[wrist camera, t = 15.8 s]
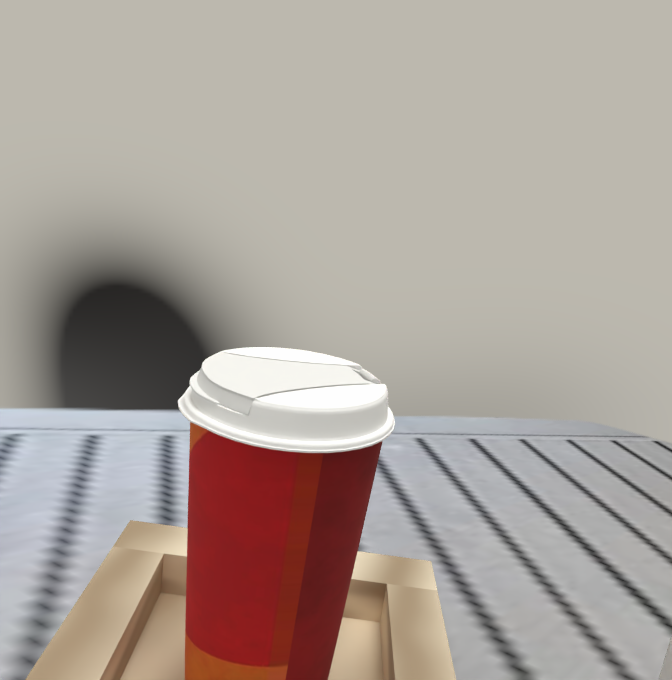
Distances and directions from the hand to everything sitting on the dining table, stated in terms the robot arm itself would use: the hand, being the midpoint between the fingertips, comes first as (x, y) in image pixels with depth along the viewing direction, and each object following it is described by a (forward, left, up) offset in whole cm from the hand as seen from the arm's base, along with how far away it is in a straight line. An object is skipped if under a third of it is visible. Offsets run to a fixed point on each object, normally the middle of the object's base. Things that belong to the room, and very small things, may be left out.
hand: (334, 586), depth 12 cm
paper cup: (+2, -11, -14) cm, 18 cm away
